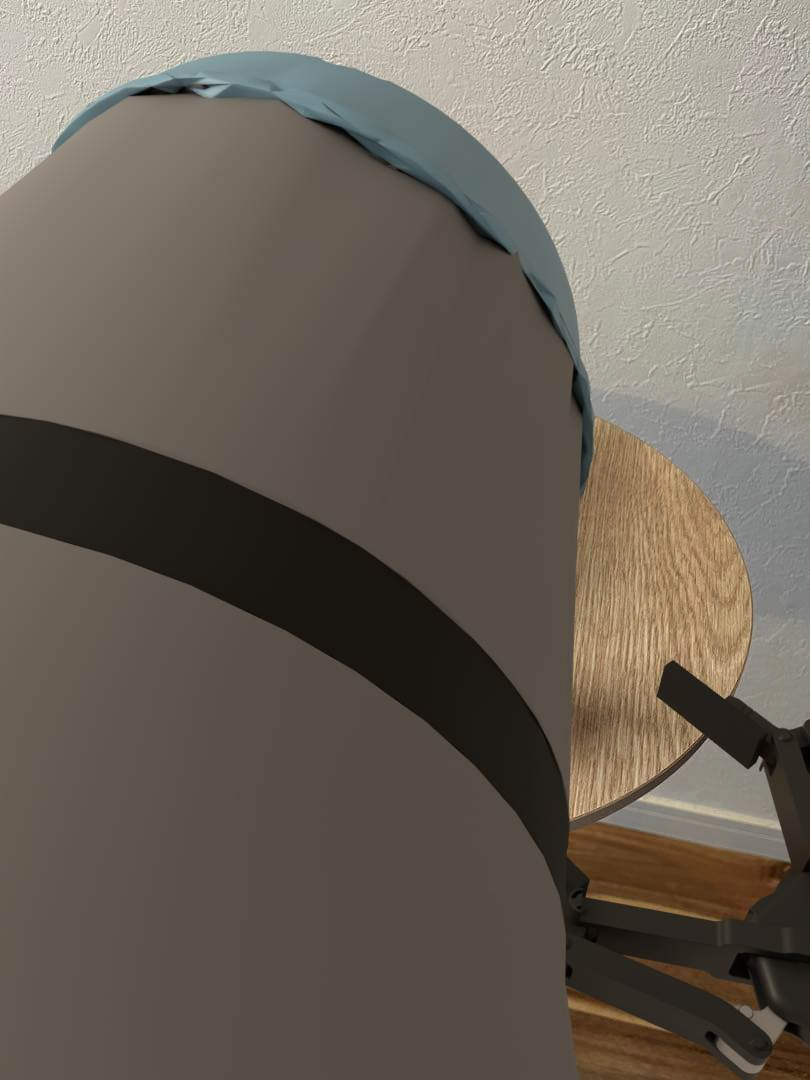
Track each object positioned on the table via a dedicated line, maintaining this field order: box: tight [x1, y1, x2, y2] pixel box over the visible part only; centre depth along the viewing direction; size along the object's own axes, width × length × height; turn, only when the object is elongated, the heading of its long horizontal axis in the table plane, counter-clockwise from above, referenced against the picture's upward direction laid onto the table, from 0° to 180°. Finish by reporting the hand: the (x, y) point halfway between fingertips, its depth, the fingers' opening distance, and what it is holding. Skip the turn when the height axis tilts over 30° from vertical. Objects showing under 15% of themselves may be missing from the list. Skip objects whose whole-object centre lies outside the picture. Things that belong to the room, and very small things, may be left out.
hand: (581, 737), depth 53 cm, fingers open, 13 cm apart
